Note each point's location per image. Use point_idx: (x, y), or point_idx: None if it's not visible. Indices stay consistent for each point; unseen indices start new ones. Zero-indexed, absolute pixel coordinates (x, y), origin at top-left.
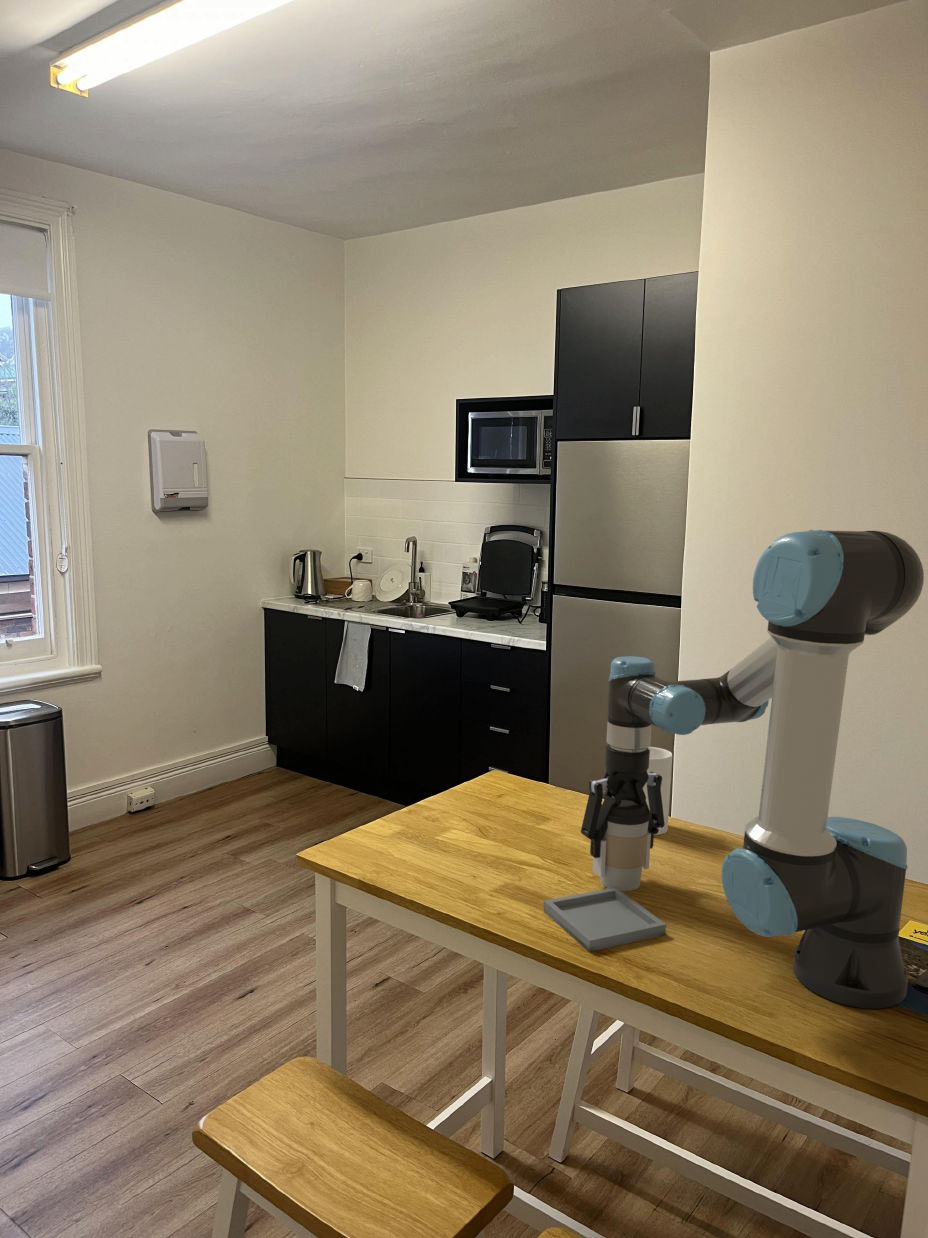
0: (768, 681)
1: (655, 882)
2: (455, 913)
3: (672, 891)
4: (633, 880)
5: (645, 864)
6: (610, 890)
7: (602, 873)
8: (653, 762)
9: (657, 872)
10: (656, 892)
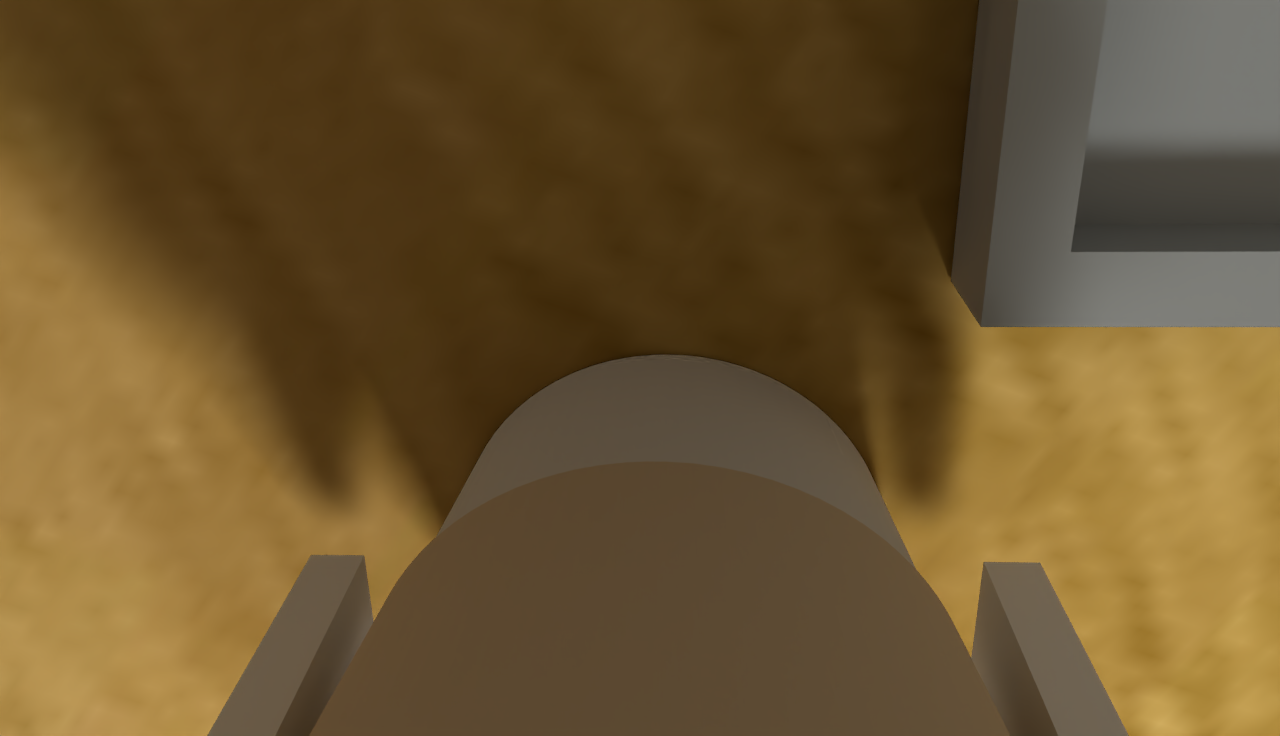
0: None
1: (286, 428)
2: None
3: (201, 174)
4: (648, 401)
5: (344, 596)
6: (1117, 272)
7: (1035, 591)
8: None
9: (149, 602)
10: (404, 220)
